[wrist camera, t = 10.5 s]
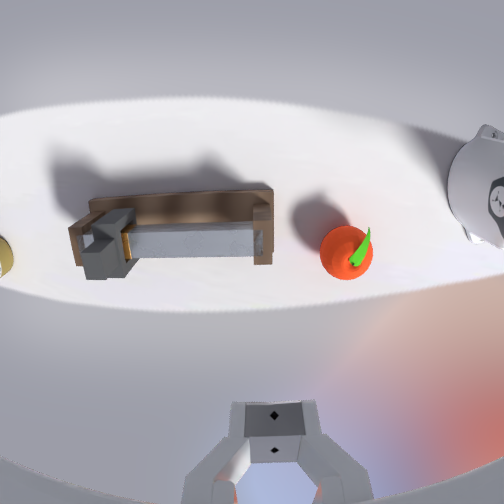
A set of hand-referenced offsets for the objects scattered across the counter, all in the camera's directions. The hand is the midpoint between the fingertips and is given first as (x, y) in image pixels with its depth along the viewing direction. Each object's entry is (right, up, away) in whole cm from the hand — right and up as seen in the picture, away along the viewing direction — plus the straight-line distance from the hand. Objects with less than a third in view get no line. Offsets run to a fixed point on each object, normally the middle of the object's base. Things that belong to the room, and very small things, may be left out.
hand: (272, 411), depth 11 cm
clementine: (+12, +7, +33) cm, 36 cm away
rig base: (-11, +10, +32) cm, 35 cm away
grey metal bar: (-11, +8, +27) cm, 30 cm away
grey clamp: (-17, +8, +29) cm, 34 cm away
